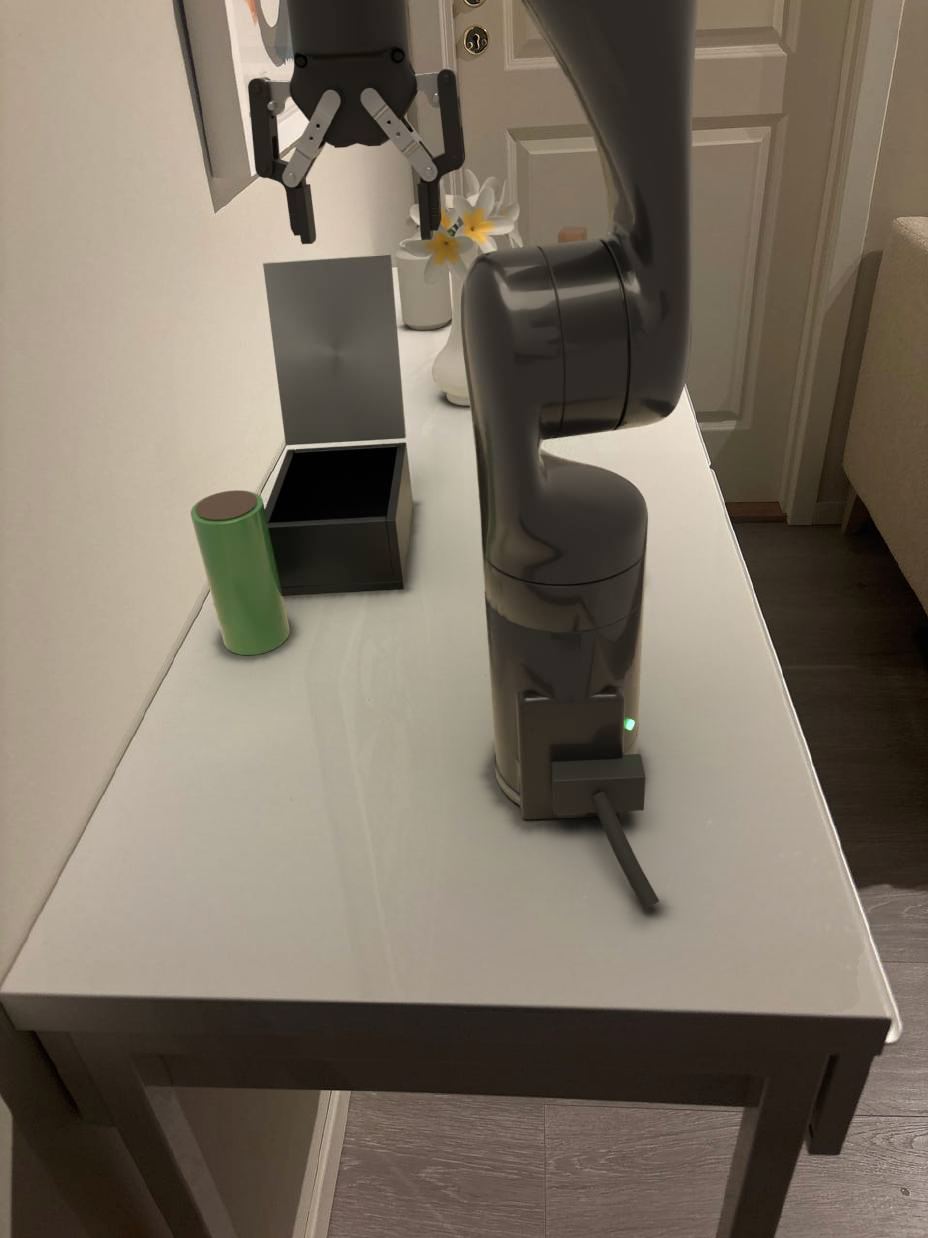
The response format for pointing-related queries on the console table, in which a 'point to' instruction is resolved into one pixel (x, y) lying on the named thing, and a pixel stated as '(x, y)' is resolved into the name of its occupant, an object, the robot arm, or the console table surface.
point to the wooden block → (572, 234)
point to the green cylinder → (241, 571)
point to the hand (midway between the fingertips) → (368, 240)
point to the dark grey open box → (341, 518)
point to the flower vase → (462, 261)
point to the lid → (336, 349)
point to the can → (422, 293)
